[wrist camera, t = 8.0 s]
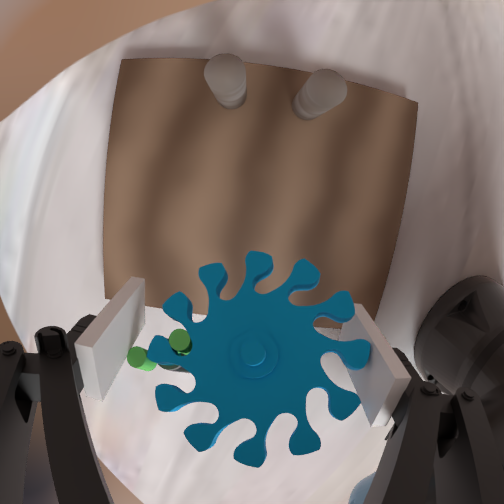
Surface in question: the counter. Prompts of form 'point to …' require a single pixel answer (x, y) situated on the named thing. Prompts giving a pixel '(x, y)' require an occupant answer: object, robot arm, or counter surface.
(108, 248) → the dowel plate
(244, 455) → the gear
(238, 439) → the counter surface
